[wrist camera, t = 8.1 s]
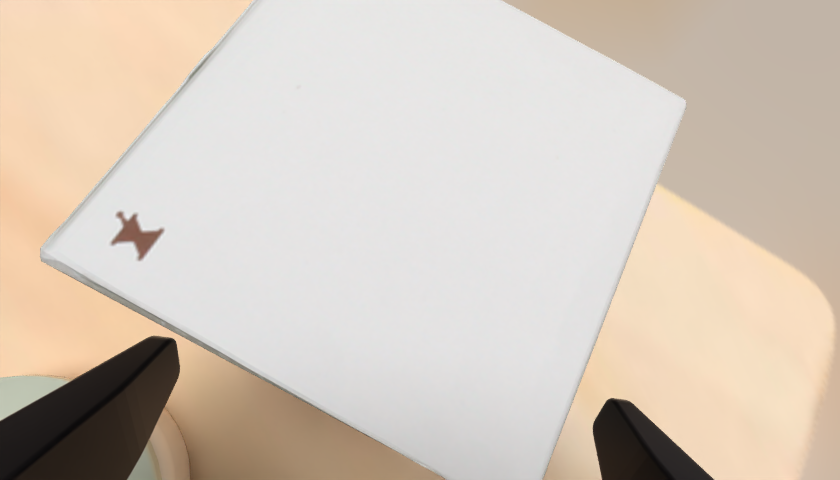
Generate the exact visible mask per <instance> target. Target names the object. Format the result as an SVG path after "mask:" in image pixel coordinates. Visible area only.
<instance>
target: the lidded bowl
mask: <svg viewBox="0 0 840 480" xmlns="http://www.w3.org/2000/svg"><path fill="white" fill-rule="evenodd" d="M71 380H73V379H70V378H65V377H58V376H52V375H24V376H13V377H3V378H0V420H2V419H4V418H6V417H7V416H9V415H11V414H13V413H14V412H16V411H18V410H20V409H22V408H23V407H25V406H27V405H29V404H31V403H32V402H34V401H36V400H38V399H39V398H41V397H43V396H45V395H47V394H48V393H50V392H52V391H54V390H55V389H57V388H59V387H61V386H63V385H64V384H66V383H68V382H70V381H71ZM127 480H190V466H189V457H188V453H187V449H186V444H185V442H184V439H183V437H182V434H181V432H180V430H179V428H178V426H177V424H176V423H175V421H174V419H173V418H172V417H171V415H170V414H169V413H168V412H167V410H166V409H165V408H164V409H163V411H162V413H161V416H160V418H159V420H158V422H157V424H156V426H155V428H154V430H153V433H152V435H151V437H150V439H149V441H148V443H147V445H146V447H145V449H144V451H143V453H142V455H141V457H140V459H139V460H138V462H137V464H136V466H135V467H134V469H133V471H132V473H131V474H130V476H129V478H128V479H127Z"/></svg>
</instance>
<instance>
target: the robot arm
mask: <svg viewBox="0 0 840 480" xmlns="http://www.w3.org/2000/svg"><path fill="white" fill-rule="evenodd" d="M179 373H180V364H179V357H178V350H177V344H176V341H175V340H174V339H173V338H168V337H161V336H151V337H148V338H146V339H144V340H143V341H141V342H139V343H137V344H136V345H134V346H132V347H130V348H128V349H127V350H125V351H123V352H121V353H120V354H118V355H116V356H114V357H112V358H111V359H109V360H107V361H105V362H103V363H102V364H100V365H98V366H96V367H95V368H93V369H91V370H89V371H87V372H86V373H84V374H82V375H80V376H79V377H77V378H75V379H73V380H71V381H70V382H68V383H66V384H64V385H63V386H61V387H59V388H57V389H55V390H54V391H52V392H50V393H48V394H47V395H45V396H43V397H41V398H39V399H38V400H36V401H34V402H32V403H31V404H29V405H27V406H25V407H23V408H22V409H20V410H18V411H16V412H14V413H13V414H11V415H9V416H7V417H6V418H4V419H2V420H0V480H127V479H128V478H129V476H130V474H131V473H132V471H133V469H134V467H135V466H136V464H137V462H138V460H139V459H140V457H141V455H142V453H143V451H144V449H145V447H146V445H147V443H148V441H149V439H150V437H151V435H152V433H153V430H154V428H155V426H156V424H157V422H158V420H159V418H160V416H161V413H162V411H163V409H164V407H165V405H166V403H167V401H168V399H169V396H170V394H171V392H172V390H173V388H174V386H175V384H176V382H177V379H178V376H179ZM593 436H594V441H595V446H596V451H597V456H598V461H599V466H600V471H601V476H602V480H714V479H713V478H712V477H711V476H710V475H709V474H708V473H706V472H705V471H704V470H703V469H702V468H701V467H700V466H699V465H698V464H697V463H696V462H695V461H694V460H693V459H691V458H690V457H689V456H688V455H687V454H686V453H685V452H684V451H683V450H682V449H681V448H680V447H679V446H678V445H676V444H675V443H674V442H673V441H672V440H671V439H670V438H669V437H668V436H667V435H666V434H665V433H664V432H663V431H661V430H660V429H659V428H658V427H657V426H656V425H655V424H654V423H653V422H652V421H651V420H650V419H649V418H648V417H646V416H645V415H644V414H643V413H642V412H641V411H640V410H639V409H638V408H637V407H636V406H635V405H634V404H632V403H631V402H630V401H627V400H622V399H615V398H610V399H608V400H607V401H606V403H605V404H604V406H603V407H602V409H601V411H600V412H599V414H598V416H597V417H596V419H595V421H594V424H593Z"/></svg>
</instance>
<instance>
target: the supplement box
mask: <svg viewBox="0 0 840 480" xmlns="http://www.w3.org/2000/svg"><path fill="white" fill-rule="evenodd" d="M685 110H686V101H685V99H683V98H681V97H680V96H678V95H676V94H674V93H672V92H670V91H669V90H667V89H665V88H663V87H661V86H660V85H658V84H656V83H654V82H652V81H651V80H649V79H647V78H645V77H643V76H641V75H640V74H638V73H636V72H634V71H632V70H630V69H629V68H627V67H625V66H623V65H621V64H619V63H618V62H616V61H614V60H612V59H610V58H608V57H607V56H605V55H603V54H601V53H599V52H597V51H595V50H593V49H591V48H589V47H587V46H585V45H584V44H582V43H580V42H578V41H576V40H574V39H572V38H571V37H569V36H567V35H565V34H563V33H561V32H560V31H558V30H556V29H554V28H552V27H550V26H549V25H547V24H545V23H543V22H541V21H539V20H537V19H536V18H534V17H532V16H529V15H528V14H526V13H524V12H522V11H521V10H519V9H517V8H515V7H513V6H511V5H509V4H507V3H505V2H503V1H502V0H253V1H252V3H251V4H250V5H249V6H248V7H247V8H246V10H245V11H244V12H243V13H242V14H241V16H240V17H239V18H238V19H237V20H236V22H235V23H234V24H233V25H232V26H231V27H230V29H229V30H228V31H227V32H226V33H225V34H224V36H223V37H222V38H221V39H220V40H219V41H218V42H217V44H216V45H215V46H214V47H213V48H212V49H211V50H210V51H209V52H208V53H206V54H205V55H204V56H203V58H202V59H201V60H200V61H199V63H198V64H197V65H196V66H195V67H194V69H193V70H192V71H191V72H190V73H189V75H188V76H187V78H186V79H185V80H184V82H183V83H182V85H181V86H180V87H179V88H178V89H177V91H176V92H175V93H174V94H173V95H172V97H171V98H170V99H169V100H168V101H167V102H166V104H165V105H164V106H163V107H162V108H161V109H160V110H159V112H158V113H157V114H156V115H155V117H154V118H153V119H152V120H151V121H150V123H149V124H148V125H147V126H146V127H145V129H144V130H143V131H142V132H141V133H140V134H139V136H138V137H137V138H136V139H135V140H134V141H133V143H132V144H131V145H130V146H129V147H128V148H127V150H126V151H125V152H124V153H123V154H122V155H121V157H120V158H119V159H118V160H117V161H116V162H115V164H114V165H113V166H112V167H111V168H110V169H109V170H108V172H107V173H106V174H105V175H104V176H103V177H102V178H101V180H100V181H99V182H98V183H97V184H96V185H95V186H94V188H93V189H92V190H91V191H90V192H89V194H88V195H87V196H86V197H85V198H84V200H83V201H82V202H81V203H80V204H79V206H78V207H77V208H76V209H75V210H74V211H73V212H72V214H71V215H70V216H69V217H68V218H67V219H66V220H65V222H64V223H63V224H62V225H61V226H60V227H59V228H58V229H57V230H56V231H55V232H54V233H53V234H52V235H51V236H50V237H49V238H48V239H47V241H46V242H45V243H44V244H43V246H42V247H41V248H40V258H41V261H42V262H44V263H46V264H48V265H49V266H51V267H53V268H55V269H57V270H59V271H61V272H62V273H64V274H66V275H68V276H70V277H72V278H74V279H76V280H77V281H79V282H81V283H83V284H85V285H87V286H89V287H90V288H92V289H94V290H96V291H98V292H100V293H102V294H104V295H105V296H107V297H109V298H111V299H113V300H115V301H117V302H119V303H120V304H122V305H124V306H126V307H128V308H130V309H132V310H133V311H135V312H137V313H139V314H141V315H143V316H145V317H147V318H148V319H150V320H152V321H154V322H156V323H158V324H160V325H161V326H163V327H165V328H167V329H169V330H171V331H173V332H175V333H176V334H178V335H180V336H182V337H184V338H186V339H188V340H190V341H191V342H193V343H195V344H197V345H199V346H201V347H203V348H205V349H206V350H208V351H210V352H212V353H214V354H216V355H218V356H219V357H221V358H223V359H225V360H227V361H229V362H231V363H233V364H234V365H236V366H238V367H240V368H242V369H244V370H246V371H248V372H249V373H251V374H253V375H255V376H257V377H259V378H261V379H263V380H264V381H266V382H268V383H270V384H272V385H274V386H276V387H277V388H279V389H281V390H283V391H285V392H287V393H289V394H291V395H292V396H294V397H296V398H298V399H300V400H302V401H304V402H306V403H307V404H309V405H311V406H313V407H315V408H317V409H319V410H320V411H322V412H324V413H326V414H328V415H330V416H332V417H333V418H335V419H337V420H339V421H341V422H343V423H345V424H346V425H348V426H350V427H352V428H354V429H356V430H358V431H360V432H361V433H363V434H365V435H367V436H369V437H371V438H373V439H374V440H376V441H378V442H380V443H382V444H384V445H386V446H387V447H389V448H391V449H393V450H395V451H397V452H398V453H400V454H402V455H404V456H405V457H407V458H409V459H411V460H412V461H414V462H416V463H418V464H419V465H421V466H423V467H425V468H427V469H429V470H431V471H433V472H435V473H436V474H438V475H440V476H441V477H443V478H445V479H446V480H543V478H544V475H545V472H546V470H547V467H548V464H549V461H550V458H551V456H552V453H553V450H554V448H555V446H556V443H557V441H558V438H559V436H560V433H561V431H562V428H563V425H564V423H565V420H566V418H567V415H568V413H569V410H570V407H571V405H572V402H573V400H574V397H575V395H576V392H577V389H578V387H579V384H580V382H581V379H582V377H583V374H584V371H585V369H586V366H587V364H588V361H589V359H590V356H591V353H592V351H593V348H594V346H595V343H596V340H597V338H598V335H599V333H600V330H601V327H602V325H603V322H604V320H605V317H606V314H607V312H608V309H609V307H610V304H611V301H612V299H613V296H614V294H615V291H616V288H617V286H618V283H619V281H620V278H621V275H622V273H623V270H624V268H625V265H626V262H627V260H628V257H629V254H630V252H631V249H632V247H633V244H634V241H635V239H636V236H637V234H638V231H639V228H640V226H641V223H642V221H643V218H644V215H645V213H646V210H647V208H648V205H649V202H650V200H651V197H652V195H653V192H654V189H655V187H656V184H657V182H658V179H659V176H660V174H661V171H662V168H663V166H664V163H665V161H666V158H667V156H668V153H669V150H670V148H671V145H672V143H673V140H674V137H675V135H676V132H677V129H678V126H679V124H680V122H681V119H682V117H683V115H684V112H685Z"/></svg>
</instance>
